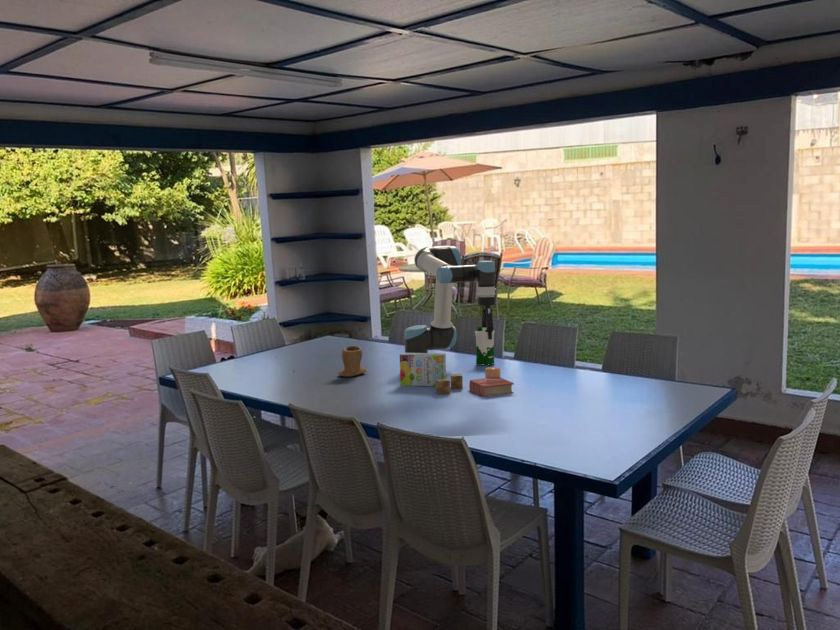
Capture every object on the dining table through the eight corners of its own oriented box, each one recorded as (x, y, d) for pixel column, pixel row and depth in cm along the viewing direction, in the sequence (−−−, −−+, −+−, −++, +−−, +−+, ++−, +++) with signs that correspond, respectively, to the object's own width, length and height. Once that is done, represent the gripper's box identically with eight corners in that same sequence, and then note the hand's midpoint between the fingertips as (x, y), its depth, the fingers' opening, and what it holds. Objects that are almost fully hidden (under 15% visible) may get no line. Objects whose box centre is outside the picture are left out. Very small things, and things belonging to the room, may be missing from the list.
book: (468, 391, 327) (468, 380, 326) (498, 387, 332) (498, 376, 331) (482, 397, 313) (482, 386, 313) (513, 394, 318) (513, 382, 318)
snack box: (446, 384, 340) (446, 352, 338) (443, 387, 334) (443, 355, 332) (403, 383, 345) (402, 351, 343) (400, 385, 340) (399, 354, 338)
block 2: (451, 389, 330) (451, 376, 329) (450, 386, 335) (450, 373, 334) (462, 388, 330) (462, 375, 329) (461, 386, 335) (461, 373, 334)
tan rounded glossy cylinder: (486, 387, 331) (486, 370, 330) (484, 384, 338) (484, 367, 337) (501, 386, 332) (501, 369, 331) (499, 383, 338) (499, 366, 337)
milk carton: (482, 362, 392) (481, 325, 389) (496, 363, 386) (496, 326, 384) (473, 364, 385) (473, 327, 382) (488, 366, 379) (487, 328, 377)
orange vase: (350, 379, 357) (349, 349, 355) (334, 376, 365) (333, 347, 363) (372, 374, 368) (371, 345, 366) (357, 371, 376) (356, 343, 374)
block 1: (439, 395, 319) (439, 381, 318) (435, 392, 324) (435, 379, 323) (450, 393, 321) (449, 380, 320) (446, 391, 325) (446, 378, 325)
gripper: (499, 298, 304) (500, 348, 306) (491, 293, 329) (492, 339, 331) (481, 299, 304) (482, 349, 306) (474, 294, 328) (475, 340, 331)
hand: (487, 344), depth 319 cm, fingers open, 13 cm apart
